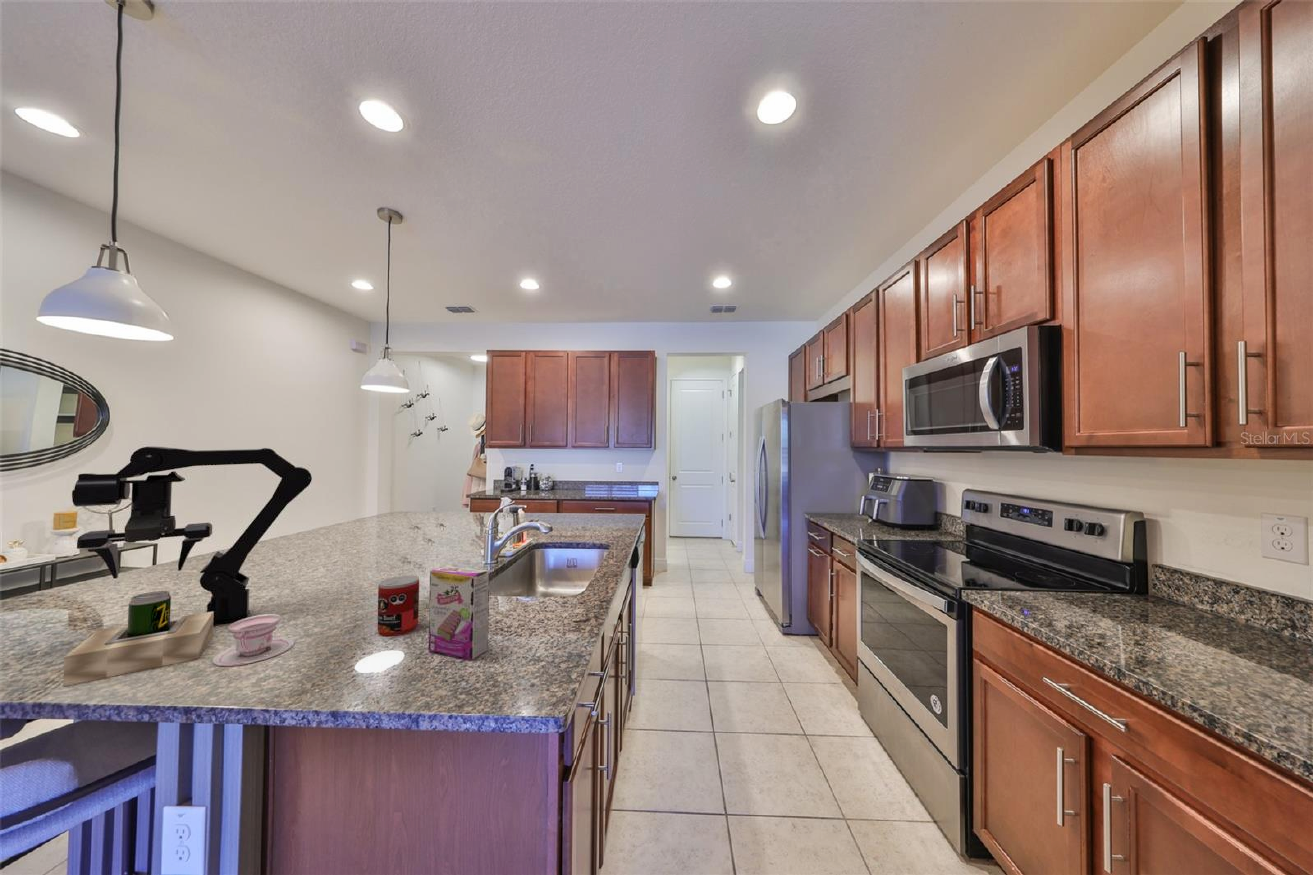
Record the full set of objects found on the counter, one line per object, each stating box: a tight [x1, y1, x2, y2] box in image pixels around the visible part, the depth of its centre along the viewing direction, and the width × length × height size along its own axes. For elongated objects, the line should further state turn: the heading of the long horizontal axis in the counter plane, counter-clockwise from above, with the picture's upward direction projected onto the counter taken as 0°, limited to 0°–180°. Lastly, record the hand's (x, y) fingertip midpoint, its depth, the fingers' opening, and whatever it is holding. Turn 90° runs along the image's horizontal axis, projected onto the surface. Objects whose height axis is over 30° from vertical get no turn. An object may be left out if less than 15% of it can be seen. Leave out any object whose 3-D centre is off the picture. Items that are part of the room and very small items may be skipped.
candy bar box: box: [428, 564, 490, 661], centre depth 87 cm, size 11×5×16 cm, turn 71°
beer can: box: [127, 590, 172, 638], centre depth 84 cm, size 5×5×12 cm
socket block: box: [62, 611, 214, 687], centre depth 84 cm, size 16×14×5 cm
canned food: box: [377, 575, 420, 637], centre depth 97 cm, size 8×8×11 cm
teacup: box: [212, 613, 296, 667], centre depth 86 cm, size 12×12×6 cm
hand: (148, 574), depth 95 cm, fingers open, 9 cm apart
